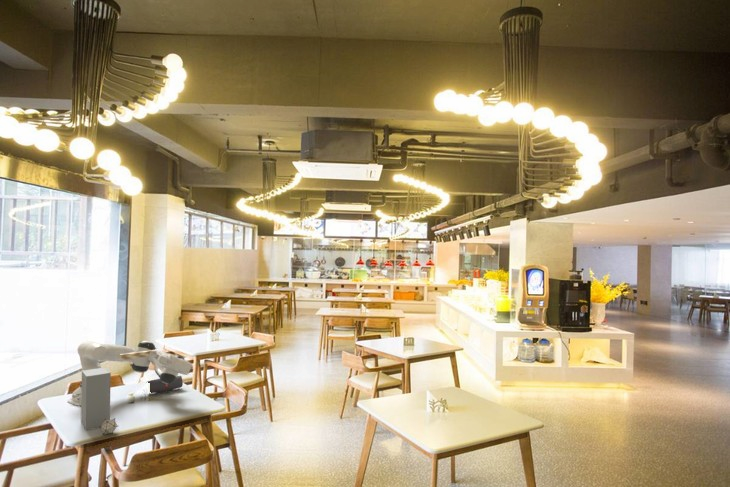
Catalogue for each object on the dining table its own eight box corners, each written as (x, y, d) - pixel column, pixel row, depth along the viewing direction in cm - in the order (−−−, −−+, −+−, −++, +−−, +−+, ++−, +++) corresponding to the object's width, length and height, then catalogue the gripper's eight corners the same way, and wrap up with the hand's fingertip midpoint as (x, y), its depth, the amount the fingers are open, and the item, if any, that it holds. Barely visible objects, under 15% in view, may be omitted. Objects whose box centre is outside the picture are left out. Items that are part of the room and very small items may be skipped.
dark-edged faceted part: (109, 441, 246) (104, 431, 240) (98, 434, 249) (93, 423, 243) (123, 429, 253) (119, 418, 247) (113, 421, 256) (109, 411, 250)
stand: (104, 417, 272) (105, 367, 273) (109, 425, 260) (110, 372, 261) (81, 422, 264) (81, 370, 265) (85, 430, 252) (86, 376, 253)
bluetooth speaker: (149, 396, 312) (149, 382, 312) (145, 393, 319) (145, 379, 319) (183, 390, 327) (183, 376, 327) (178, 387, 334) (178, 373, 334)
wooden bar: (155, 354, 285) (155, 349, 285) (156, 355, 283) (156, 350, 283) (119, 359, 272) (119, 354, 272) (120, 360, 270) (120, 355, 270)
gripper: (170, 368, 280) (150, 360, 272) (161, 362, 295) (141, 354, 288) (176, 359, 282) (155, 350, 274) (166, 353, 297) (146, 345, 290)
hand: (148, 352), depth 281 cm, fingers closed on wooden bar, 3 cm apart
